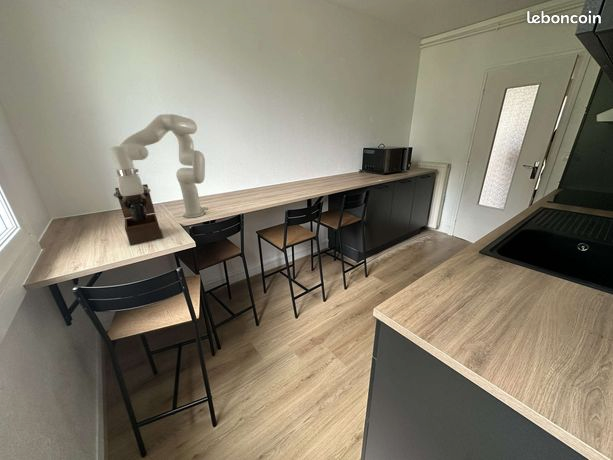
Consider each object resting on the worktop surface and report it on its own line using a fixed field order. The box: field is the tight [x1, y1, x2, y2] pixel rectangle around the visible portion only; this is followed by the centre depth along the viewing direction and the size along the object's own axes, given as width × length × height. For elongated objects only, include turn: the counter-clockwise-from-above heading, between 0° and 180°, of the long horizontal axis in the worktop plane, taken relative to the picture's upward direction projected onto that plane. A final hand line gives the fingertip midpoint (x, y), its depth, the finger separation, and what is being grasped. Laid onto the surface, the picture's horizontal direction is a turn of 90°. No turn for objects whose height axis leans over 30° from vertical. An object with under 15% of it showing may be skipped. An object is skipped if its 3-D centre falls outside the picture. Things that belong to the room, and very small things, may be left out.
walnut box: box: [124, 213, 163, 246], centre depth 138 cm, size 16×15×10 cm
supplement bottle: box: [129, 196, 148, 221], centre depth 131 cm, size 7×7×12 cm
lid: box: [114, 183, 156, 219], centre depth 141 cm, size 17×15×5 cm
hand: (136, 206), depth 131 cm, fingers closed on supplement bottle, 6 cm apart
